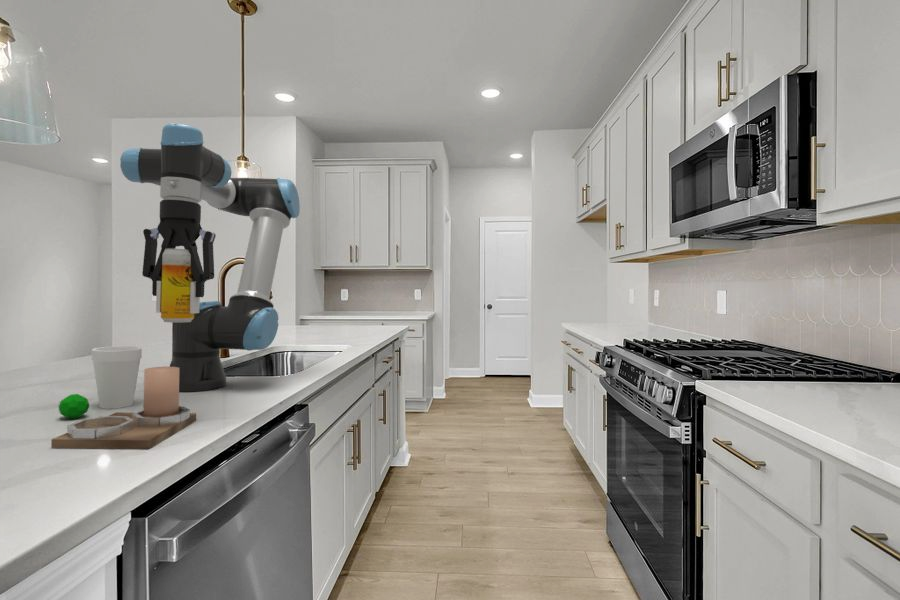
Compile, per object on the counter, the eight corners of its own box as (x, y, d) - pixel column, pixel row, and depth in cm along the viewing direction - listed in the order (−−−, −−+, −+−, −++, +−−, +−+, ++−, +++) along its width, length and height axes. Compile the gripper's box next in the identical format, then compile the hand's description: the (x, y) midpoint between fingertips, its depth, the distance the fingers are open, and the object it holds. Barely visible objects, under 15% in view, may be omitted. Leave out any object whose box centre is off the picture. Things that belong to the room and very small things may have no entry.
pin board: (116, 419, 102) (116, 412, 102) (196, 420, 103) (196, 413, 103) (51, 448, 84) (51, 439, 84) (148, 449, 85) (149, 440, 85)
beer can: (180, 323, 100) (181, 248, 99) (153, 321, 101) (155, 248, 101) (200, 321, 106) (202, 251, 105) (175, 320, 107) (177, 250, 106)
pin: (153, 415, 101) (154, 366, 100) (184, 415, 101) (185, 366, 101) (137, 423, 95) (137, 371, 94) (169, 423, 95) (170, 371, 95)
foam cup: (142, 399, 120) (143, 345, 120) (138, 407, 112) (139, 350, 111) (95, 402, 116) (95, 346, 115) (87, 411, 107) (87, 351, 107)
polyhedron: (82, 420, 101) (82, 397, 101) (53, 421, 99) (54, 397, 99) (93, 414, 106) (93, 392, 105) (66, 415, 104) (66, 392, 104)
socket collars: (117, 412, 102) (117, 405, 102) (195, 413, 103) (195, 406, 103) (55, 438, 84) (55, 429, 84) (150, 439, 85) (150, 431, 85)
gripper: (122, 195, 98) (119, 312, 99) (221, 200, 100) (217, 314, 100) (143, 202, 106) (140, 310, 106) (234, 206, 107) (231, 313, 108)
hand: (177, 312), depth 103 cm, fingers closed on beer can, 6 cm apart
